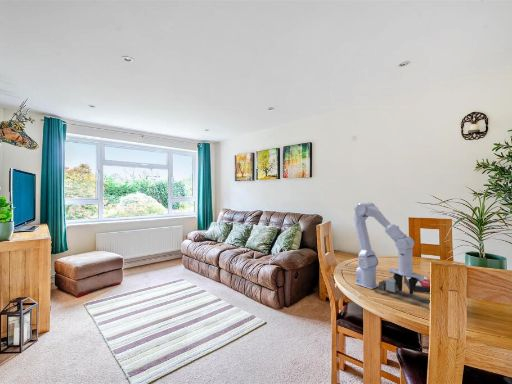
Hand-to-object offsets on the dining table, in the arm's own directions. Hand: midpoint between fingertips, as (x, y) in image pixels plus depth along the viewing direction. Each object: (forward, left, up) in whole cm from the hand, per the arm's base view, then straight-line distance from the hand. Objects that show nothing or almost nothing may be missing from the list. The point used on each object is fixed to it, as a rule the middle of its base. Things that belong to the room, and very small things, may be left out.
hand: (405, 292), depth 114 cm
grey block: (-6, 0, -1) cm, 6 cm away
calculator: (-2, +20, -3) cm, 20 cm away
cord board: (0, 0, -3) cm, 3 cm away
